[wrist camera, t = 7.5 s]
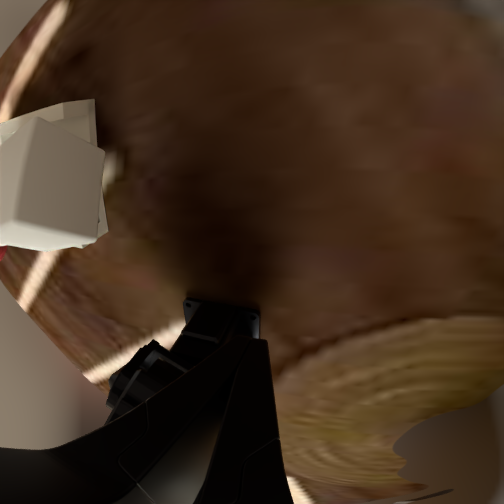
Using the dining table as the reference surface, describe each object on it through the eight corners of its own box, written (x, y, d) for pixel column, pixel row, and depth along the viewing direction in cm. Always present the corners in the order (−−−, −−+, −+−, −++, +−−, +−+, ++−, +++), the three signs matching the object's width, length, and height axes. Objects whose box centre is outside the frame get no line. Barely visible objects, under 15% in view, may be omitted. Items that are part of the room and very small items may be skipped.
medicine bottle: (107, 150, 21) (31, 186, 25) (36, 112, 14) (-25, 168, 18) (99, 243, 20) (23, 257, 24) (12, 223, 13) (-38, 247, 17)
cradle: (108, 231, 25) (82, 248, 22) (27, 221, 28) (5, 233, 25) (94, 98, 20) (62, 102, 17) (13, 121, 23) (-13, 128, 20)
